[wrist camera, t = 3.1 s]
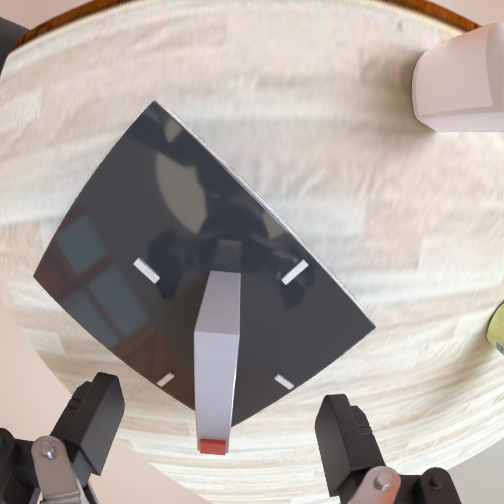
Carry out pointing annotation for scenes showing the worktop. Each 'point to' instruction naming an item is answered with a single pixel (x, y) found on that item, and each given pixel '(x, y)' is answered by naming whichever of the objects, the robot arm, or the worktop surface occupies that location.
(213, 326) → the tap lever
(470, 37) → the eye dropper bottle
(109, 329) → the plate
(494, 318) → the tube
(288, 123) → the worktop surface
